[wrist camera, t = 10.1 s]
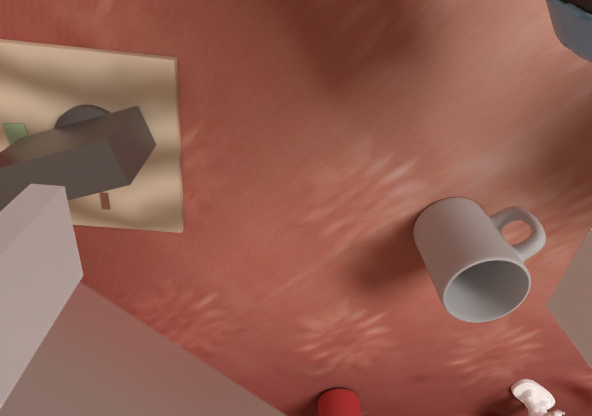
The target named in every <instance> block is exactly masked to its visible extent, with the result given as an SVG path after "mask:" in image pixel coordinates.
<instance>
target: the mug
mask: <svg viewBox="0 0 592 416" xmlns="http://www.w3.org/2000/svg"><path fill="white" fill-rule="evenodd" d="M515 220H522V221H524V222H526V223H527V224H528V225H529V226H530V227H531V230H532V233H531V235H530V236H529V238H527V239H526V240H524V241H523V242H520V243H518V244H515V245H510V244H509V243H508V242H507V241H506V240H505V238H504V237H503V236H502V234H501V232H500V231H501V229H502V228H503V227H504V226H505V225H507V224H508V223H510V222H512V221H515ZM413 236H414V241H415V244H416V246H417V248H418V250H419V252H420V255H421V257H422V259H423V261H424V263H425V266H426V268H427V270H428V272H429V275H430V277H431V279H432V282H433V284H434V286H435V288H436V291H437V293H438V295H439V298H440V300H441V302H442V304H443V306H444V308H445V309H446V310H447V312H448V313H449V314H450V315H452V316H453V317H455V318H457V319H459V320H462V321H466V322H486V321H491V320H495V319H498V318H500V317H503V316H505V315H507V314H508V313H510V312H512V311H513V310H514V309H516V308H517V307H518V306H519V305H520V304H521V303H522V302H523V301H524V299H525V298H526V296H527V295H528V292H529V290H530V286H531V278H530V274H529V272H528V270H527V268H526V267H525V265H524V261H525V260H527V259H528V258H530V257H531V256H533V255H534V254H536V253H537V252H538V251H540V250H541V249H542V248H543V246H544V245H545V242H546V234H545V231H544V229H543V227H542V225H541V223H540V222H539V221H538V220H537V218H536V217H535V216H534V215H532V214H531V213H530V212H529V211H527V210H525V209H523V208H521V207H514V206H513V207H508V208H506V209H503V210H501V211H499V212H498V213H496V214H494V215H492V216H490V217H489V216H488V215H487V214H486V212H485V211H484V210H483V209H482V208H481V206H480V205H478V204H477V203H476V202H474V201H472V200H469V199H466V198H461V197H453V198H447V199H443V200H440V201H437V202H435V203H433V204H432V205H430V206H429V207H427V208H426V209H425V210H424V211H423V212H422V213H421V214H420V216H419V217H418V219H417V220H416V222H415V225H414V230H413Z"/></svg>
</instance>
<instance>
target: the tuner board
mask: <svg viewBox="0 0 592 416" xmlns="http://www.w3.org/2000/svg"><path fill="white" fill-rule="evenodd" d="M78 105H94V106H98V107H101V108H103V109H105V110H107V111H109V112H110V113H113V112H117V111H120V110H124V109H127V108H131V107H135V106H139V109H140V111H141V113H142V115H143V117H144V119H145V121H146V123H147V126H148V128H149V130H150V132H151V134H152V136H153V138H154V140H155V142H156V147H155V148H154V150H153V151H152V153H151V154H150V156H149V157H148V159H147V160H146V162H145V163H144V165H143V166H142V168H141V169H140V171H139V172H138V174H137V175H136V177H135V179H134V180H133V182H132V183H131V185H128V186H124V187H120V188H116V189H112V190H108V191H104V192H100V193H96V194H92V195H88V196H84V197H80V198H76V199H72V200H68V205H69V210H70V214H71V219H72V224H73V225H84V226H97V227H111V228H124V229H138V230H151V231H165V232H178V233H182V232H183V229H184V208H183V184H182V160H181V136H180V113H179V89H178V65H177V57H171V56H162V55H152V54H142V53H133V52H123V51H113V50H104V49H94V48H84V47H75V46H65V45H55V44H46V43H36V42H26V41H17V40H7V39H0V152H2V151H3V150H4V149H6V148H7V147H9V146H10V145H12V144H13V143H14V142H16V141H17V140H19V139H20V138H22V137H26V136H29V135H33V134H37V133H40V132H44V131H47V130H51V129H54V127H55V124H56V122H57V120H58V118H59V117H60V116H61V115H62V114H64V113H65V112H66V111H68V110H69V109H71V108H72V107H75V106H78Z"/></svg>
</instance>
